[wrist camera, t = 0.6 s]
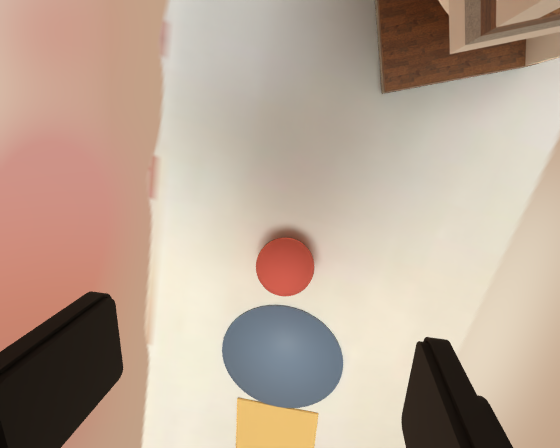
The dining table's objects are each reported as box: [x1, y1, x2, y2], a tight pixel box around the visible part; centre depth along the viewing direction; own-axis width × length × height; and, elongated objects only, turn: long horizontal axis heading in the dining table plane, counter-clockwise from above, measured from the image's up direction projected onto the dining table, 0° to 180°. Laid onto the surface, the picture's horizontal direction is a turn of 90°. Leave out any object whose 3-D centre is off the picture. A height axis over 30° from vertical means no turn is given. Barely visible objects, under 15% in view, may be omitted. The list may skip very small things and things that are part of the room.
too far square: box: [236, 398, 318, 448], centre depth 41 cm, size 10×10×1 cm
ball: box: [256, 238, 314, 296], centre depth 31 cm, size 6×6×6 cm
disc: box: [222, 305, 343, 408], centre depth 37 cm, size 14×14×1 cm
